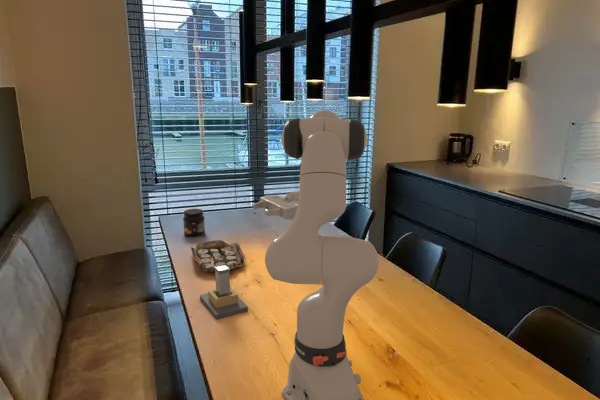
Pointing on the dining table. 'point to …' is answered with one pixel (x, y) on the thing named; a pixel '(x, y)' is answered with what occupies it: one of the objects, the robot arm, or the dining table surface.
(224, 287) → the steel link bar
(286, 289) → the dining table surface
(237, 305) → the keeper plate
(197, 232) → the supplement container
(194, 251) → the baking tray
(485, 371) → the dining table surface
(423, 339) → the dining table surface
